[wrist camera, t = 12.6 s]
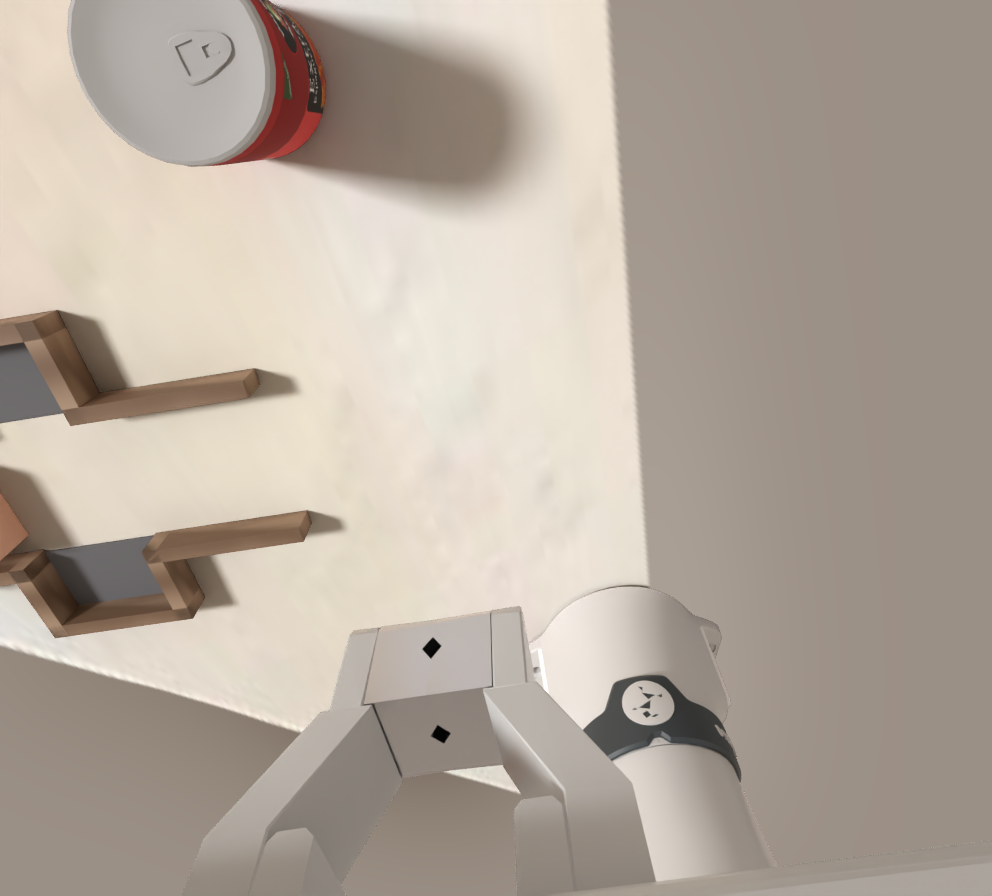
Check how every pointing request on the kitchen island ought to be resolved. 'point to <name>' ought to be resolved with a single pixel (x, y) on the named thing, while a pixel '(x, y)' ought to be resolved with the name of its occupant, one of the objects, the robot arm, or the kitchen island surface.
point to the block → (9, 529)
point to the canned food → (198, 77)
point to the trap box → (126, 563)
